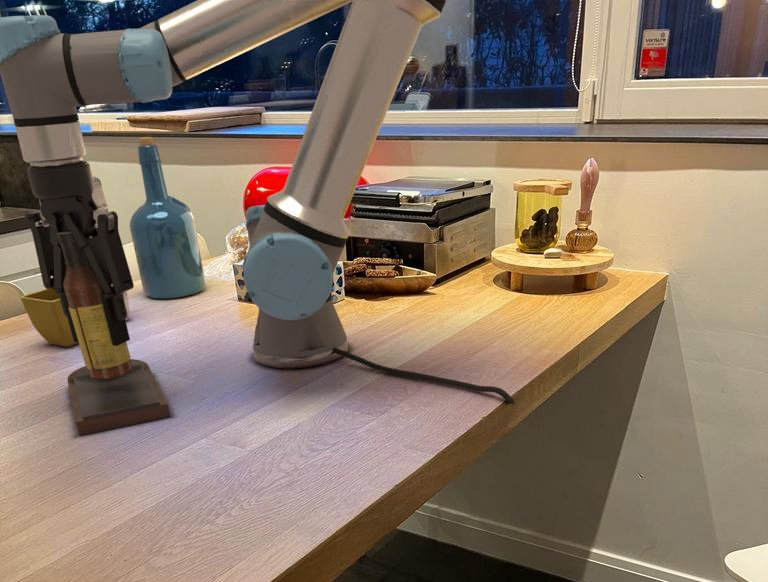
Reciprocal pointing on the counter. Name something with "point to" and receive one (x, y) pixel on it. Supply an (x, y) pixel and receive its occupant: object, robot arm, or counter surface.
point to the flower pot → (48, 317)
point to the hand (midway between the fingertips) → (101, 340)
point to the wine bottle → (164, 235)
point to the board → (116, 399)
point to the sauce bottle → (90, 314)
